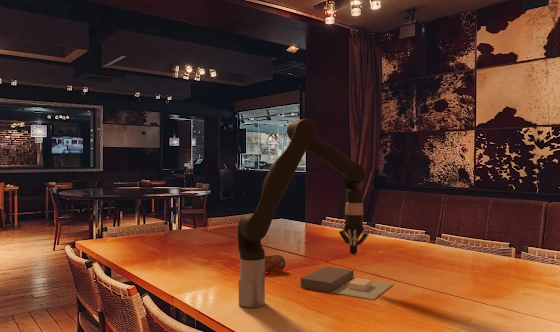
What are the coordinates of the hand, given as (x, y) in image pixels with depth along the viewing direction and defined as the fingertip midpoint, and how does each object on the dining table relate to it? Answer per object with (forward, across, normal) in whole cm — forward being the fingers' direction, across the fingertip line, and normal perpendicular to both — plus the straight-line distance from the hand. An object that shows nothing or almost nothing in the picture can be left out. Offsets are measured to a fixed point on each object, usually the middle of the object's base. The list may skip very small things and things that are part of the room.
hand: (353, 254), depth 181 cm
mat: (+14, +4, 0) cm, 15 cm away
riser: (+14, -12, 0) cm, 18 cm away
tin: (+15, -44, +2) cm, 46 cm away
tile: (+11, +3, 0) cm, 12 cm away
